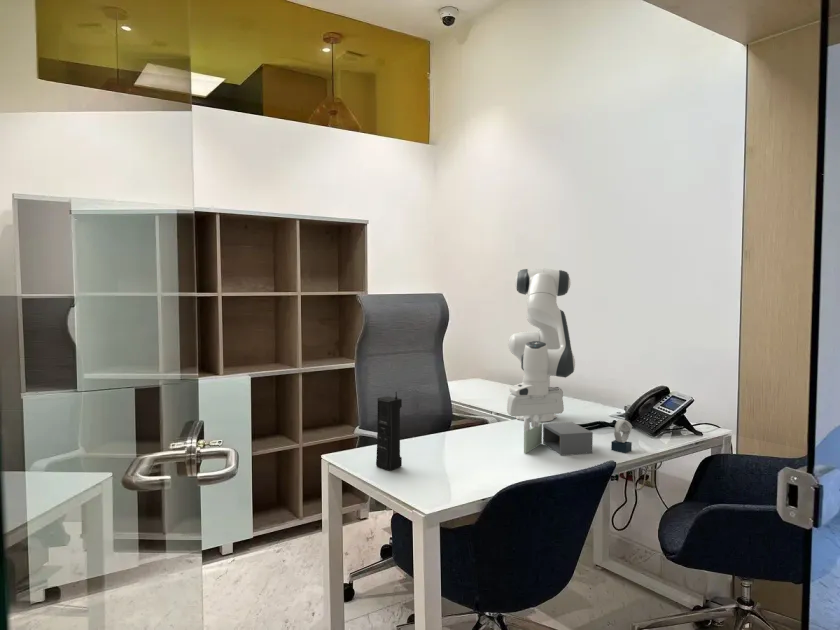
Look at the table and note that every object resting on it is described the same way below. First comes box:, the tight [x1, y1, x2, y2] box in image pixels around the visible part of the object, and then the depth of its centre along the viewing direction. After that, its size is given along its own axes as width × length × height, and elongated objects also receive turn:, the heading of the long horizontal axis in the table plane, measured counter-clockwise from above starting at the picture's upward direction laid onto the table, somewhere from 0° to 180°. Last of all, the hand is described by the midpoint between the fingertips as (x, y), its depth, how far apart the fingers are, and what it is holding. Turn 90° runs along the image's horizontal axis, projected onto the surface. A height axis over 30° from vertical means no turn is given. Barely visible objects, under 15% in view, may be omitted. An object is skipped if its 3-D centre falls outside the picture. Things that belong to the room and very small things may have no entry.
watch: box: [610, 419, 633, 454], centre depth 195 cm, size 6×8×11 cm
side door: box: [523, 417, 543, 454], centre depth 197 cm, size 15×2×12 cm, turn 146°
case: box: [542, 421, 594, 456], centre depth 198 cm, size 15×12×8 cm
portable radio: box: [375, 392, 403, 471], centre depth 178 cm, size 8×6×25 cm
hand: (535, 427), depth 191 cm, fingers closed
